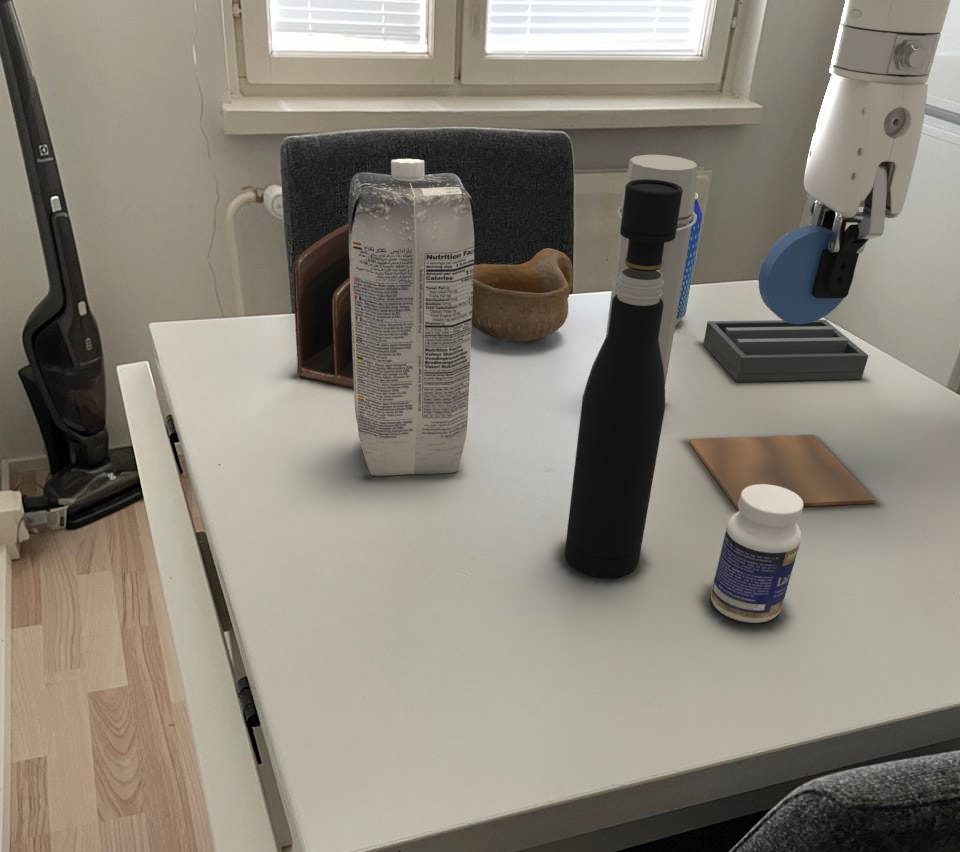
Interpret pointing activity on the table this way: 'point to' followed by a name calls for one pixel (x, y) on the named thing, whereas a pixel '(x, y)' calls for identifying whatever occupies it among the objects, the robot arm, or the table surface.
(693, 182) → the water bottle
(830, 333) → the dish rack
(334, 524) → the table surface
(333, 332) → the letter holder
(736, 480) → the brown square board
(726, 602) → the pill bottle
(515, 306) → the bowl
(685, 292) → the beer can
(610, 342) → the wine bottle
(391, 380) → the juice carton
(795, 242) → the blue lid
